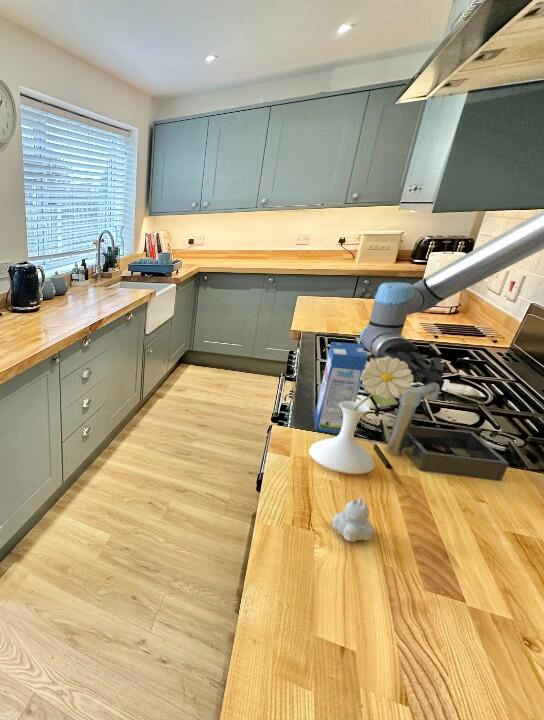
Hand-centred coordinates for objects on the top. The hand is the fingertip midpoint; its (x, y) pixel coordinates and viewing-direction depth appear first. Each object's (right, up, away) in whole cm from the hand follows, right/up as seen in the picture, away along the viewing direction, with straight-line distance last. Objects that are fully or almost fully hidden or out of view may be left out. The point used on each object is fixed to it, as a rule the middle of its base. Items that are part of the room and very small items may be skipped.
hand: (438, 386), depth 87 cm
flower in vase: (-19, -17, +1) cm, 26 cm away
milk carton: (-10, -10, +17) cm, 23 cm away
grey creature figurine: (-32, -26, -17) cm, 44 cm away
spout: (-5, -3, -1) cm, 6 cm away
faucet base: (-8, -16, +2) cm, 18 cm away
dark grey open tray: (0, -16, -1) cm, 16 cm away
